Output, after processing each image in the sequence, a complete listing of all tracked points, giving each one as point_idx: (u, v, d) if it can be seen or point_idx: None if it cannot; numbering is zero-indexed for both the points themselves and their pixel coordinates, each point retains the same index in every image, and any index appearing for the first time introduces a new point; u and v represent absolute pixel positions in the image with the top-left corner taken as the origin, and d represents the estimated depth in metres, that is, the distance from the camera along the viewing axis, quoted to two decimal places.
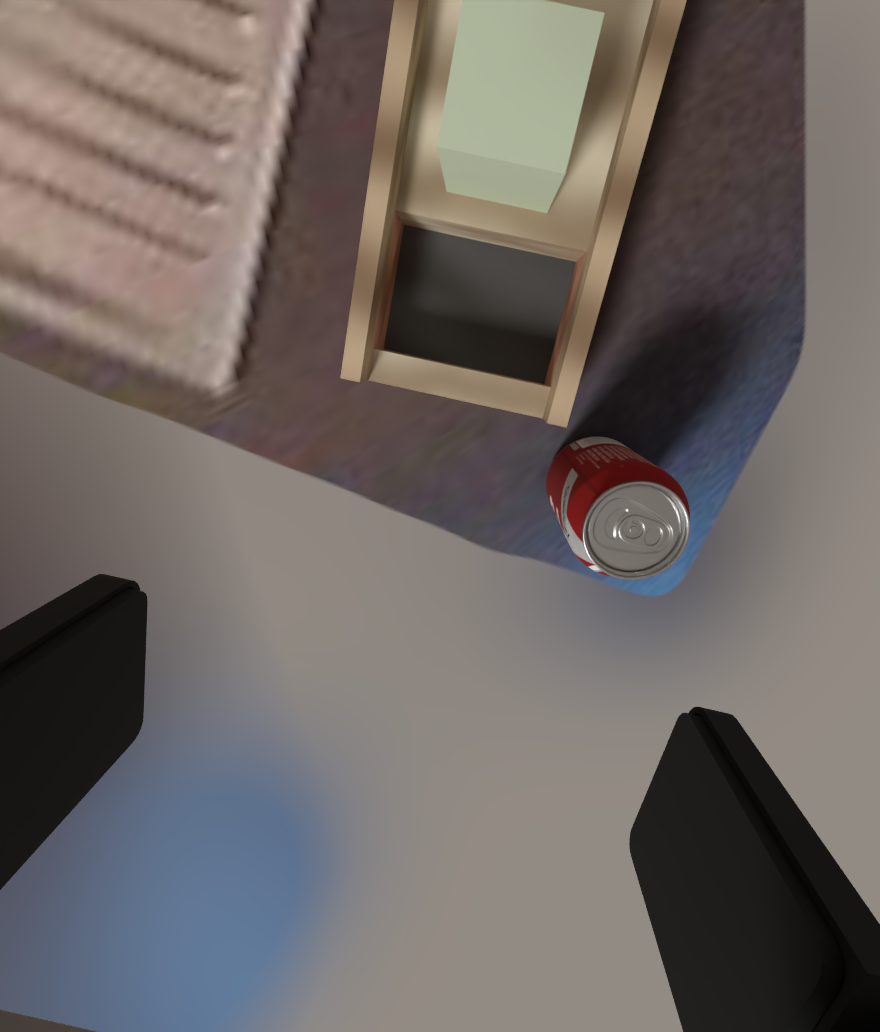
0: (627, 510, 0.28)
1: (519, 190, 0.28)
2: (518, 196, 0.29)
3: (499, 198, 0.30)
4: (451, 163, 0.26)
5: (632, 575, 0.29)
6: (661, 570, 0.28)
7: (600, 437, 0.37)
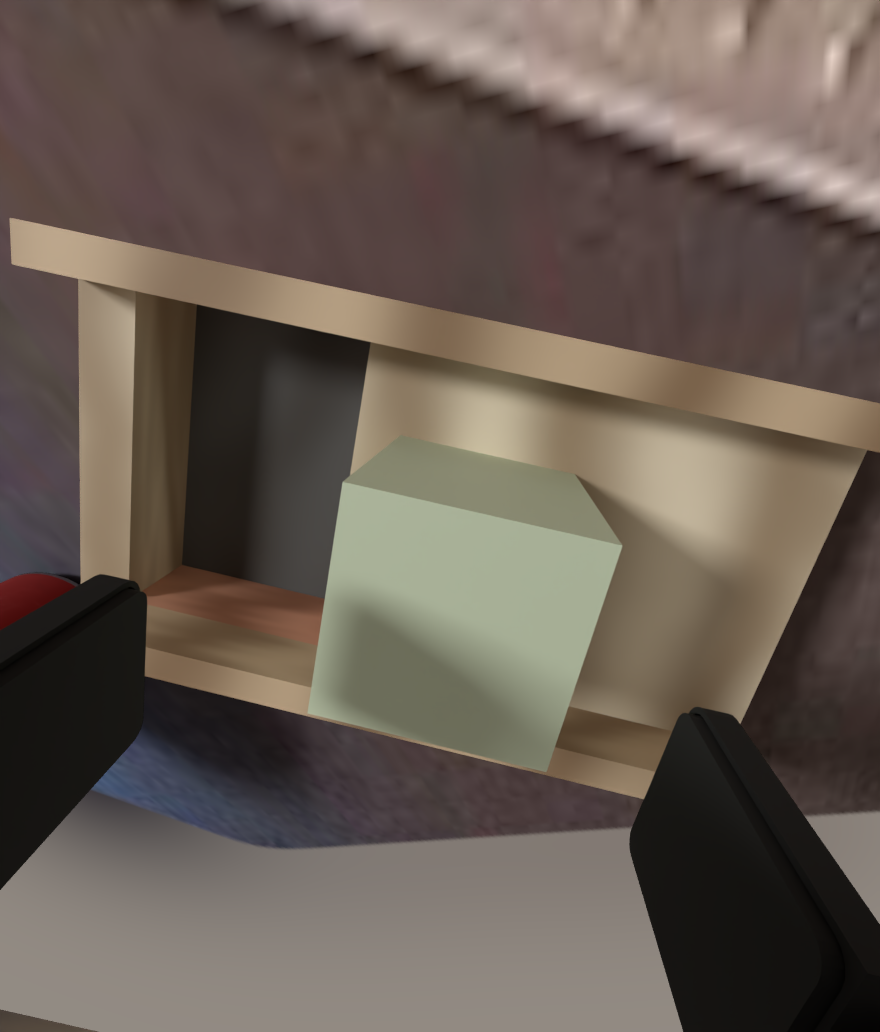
0: None
1: None
2: None
3: None
4: None
5: None
6: None
7: None
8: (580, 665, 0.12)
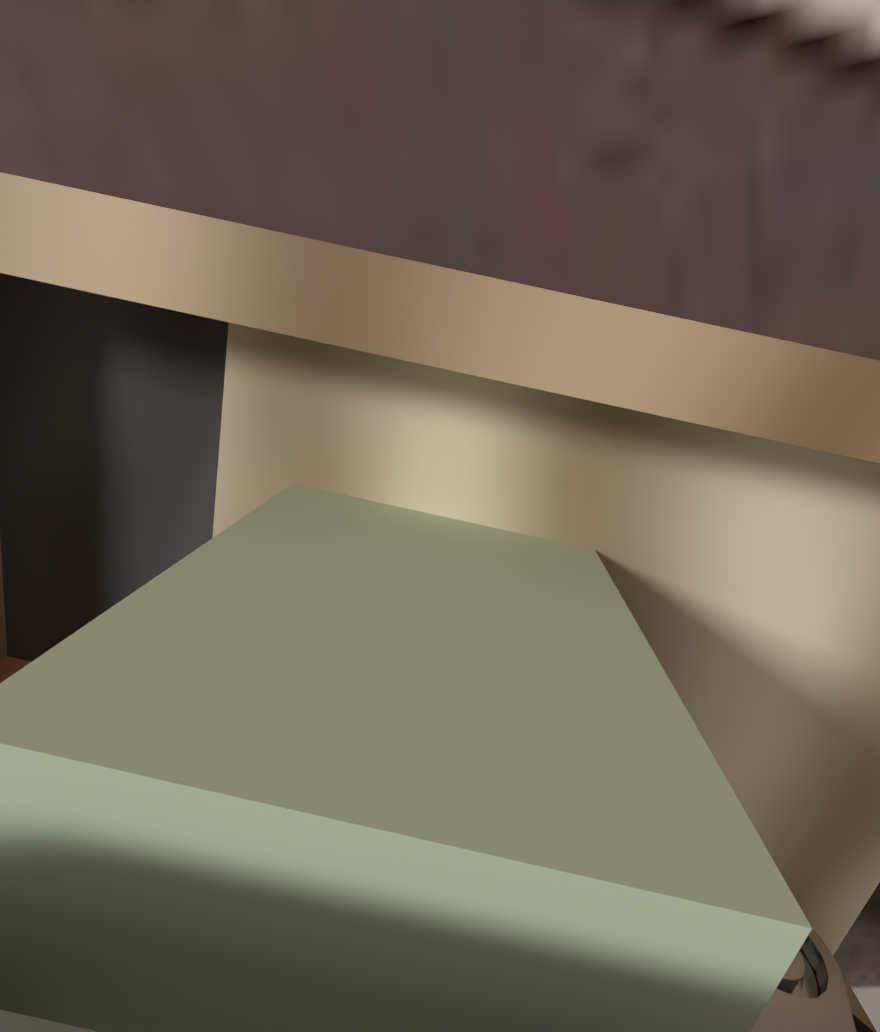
0: None
1: None
2: None
3: None
4: None
5: None
6: None
7: None
8: None
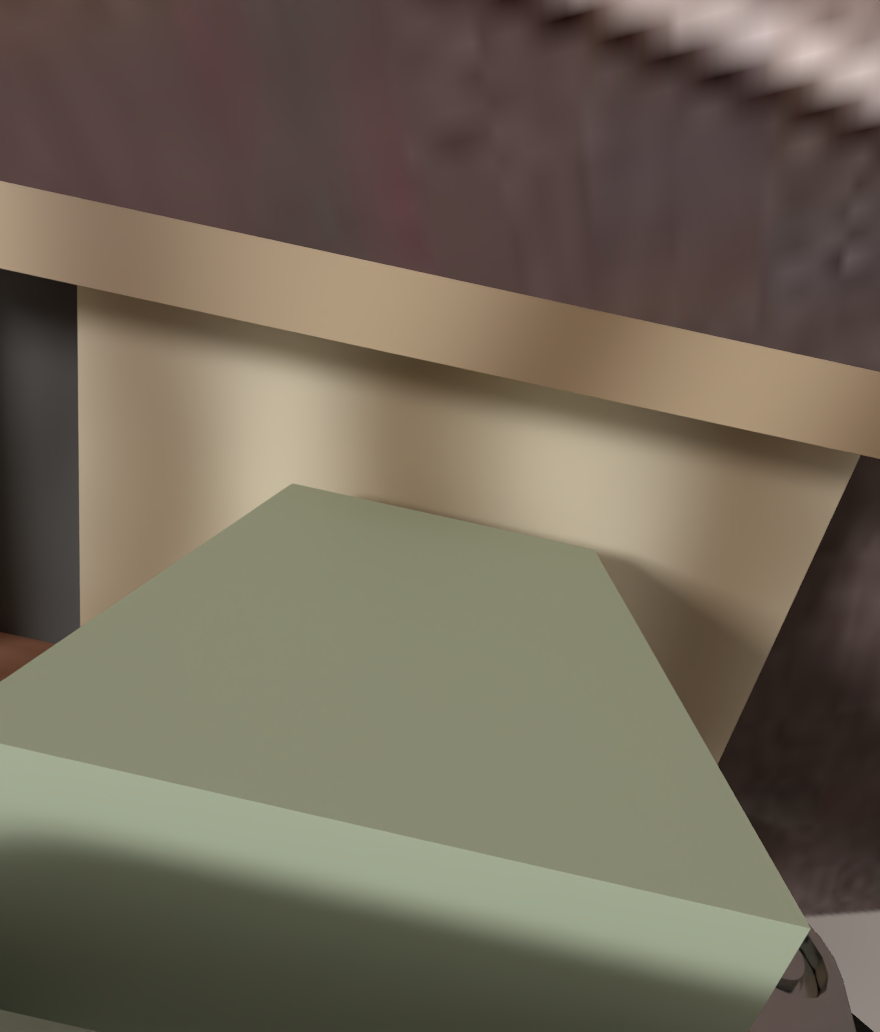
0: None
1: None
2: None
3: None
4: None
5: None
6: None
7: None
8: None
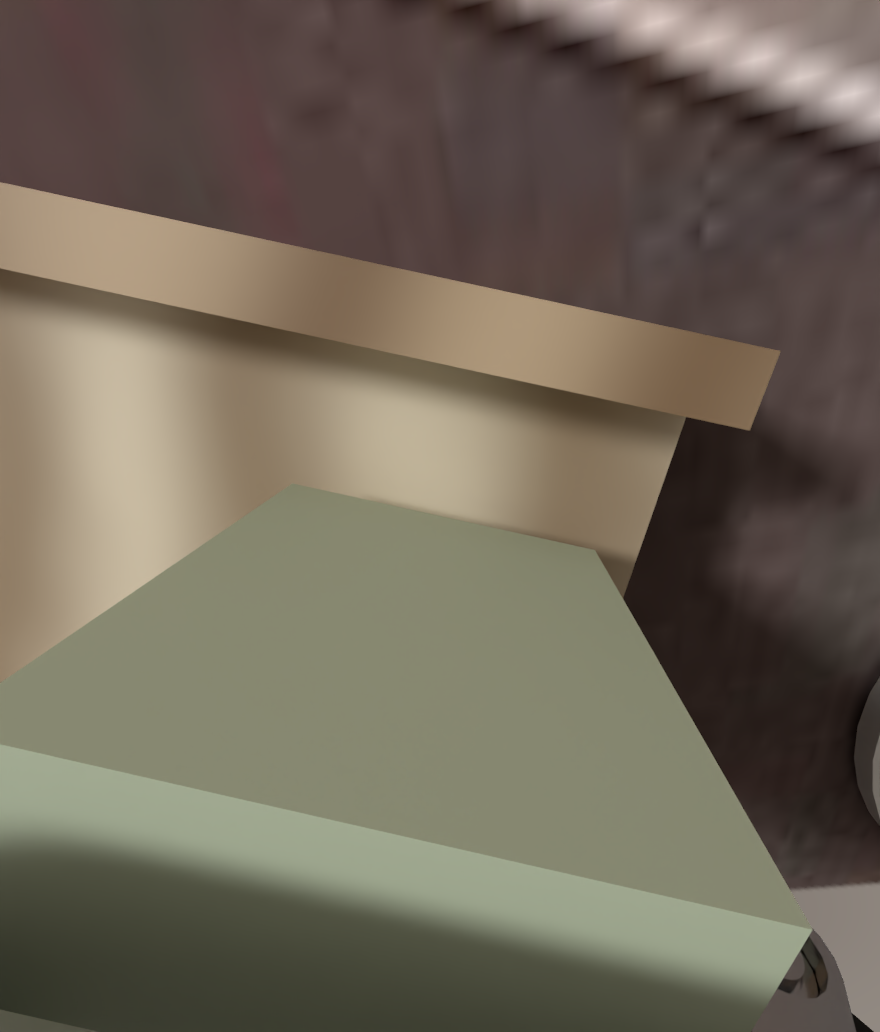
0: None
1: None
2: None
3: None
4: None
5: None
6: None
7: None
8: None
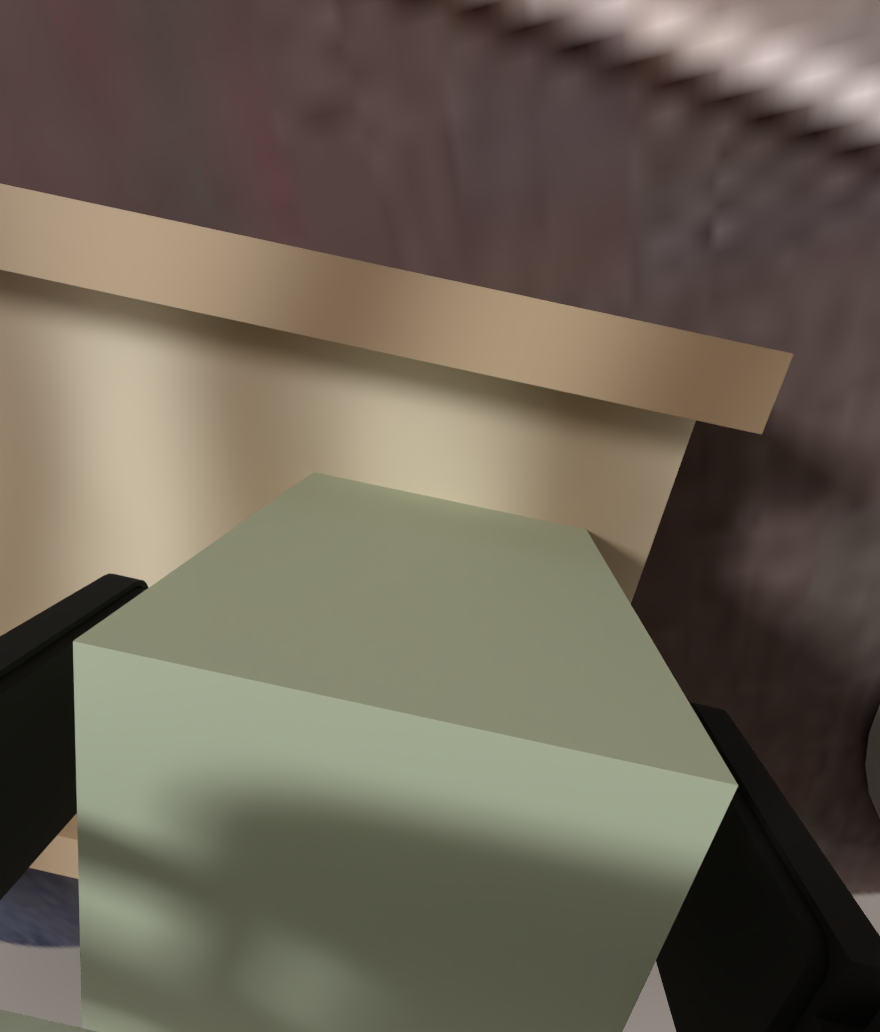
0: None
1: None
2: None
3: None
4: None
5: None
6: None
7: None
8: (631, 1003, 0.05)
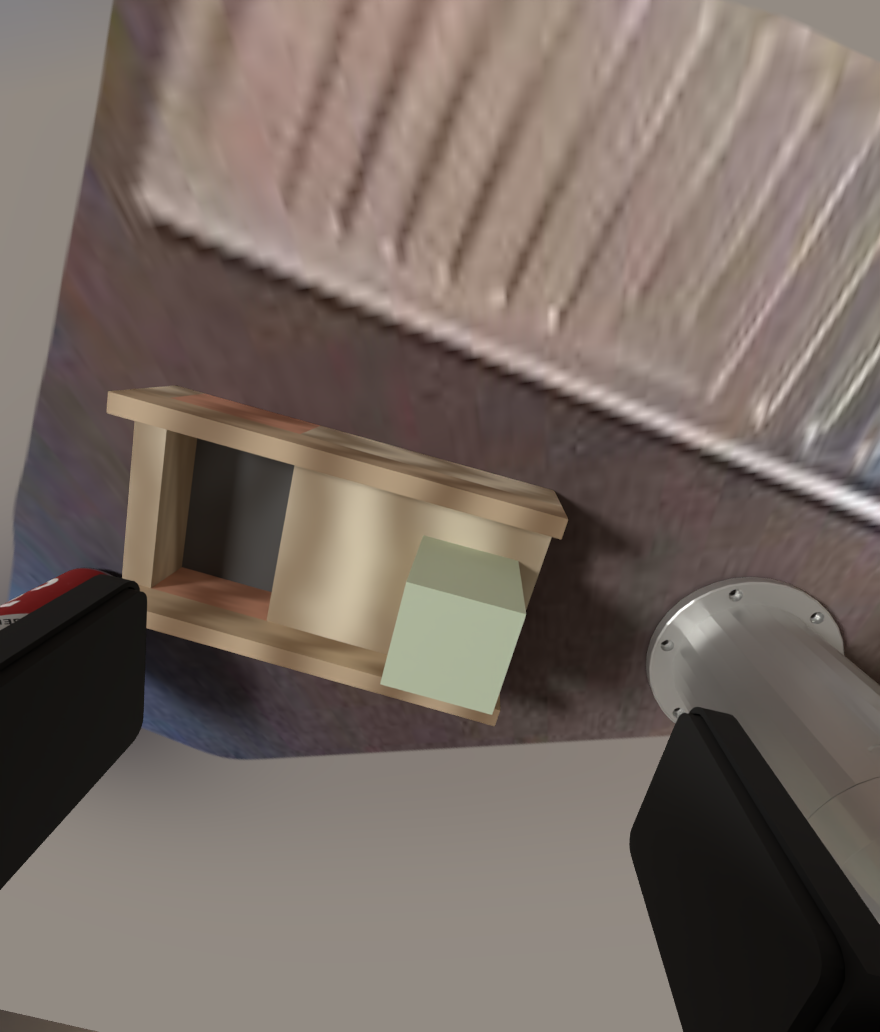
0: None
1: None
2: None
3: None
4: None
5: None
6: None
7: None
8: (508, 665, 0.26)
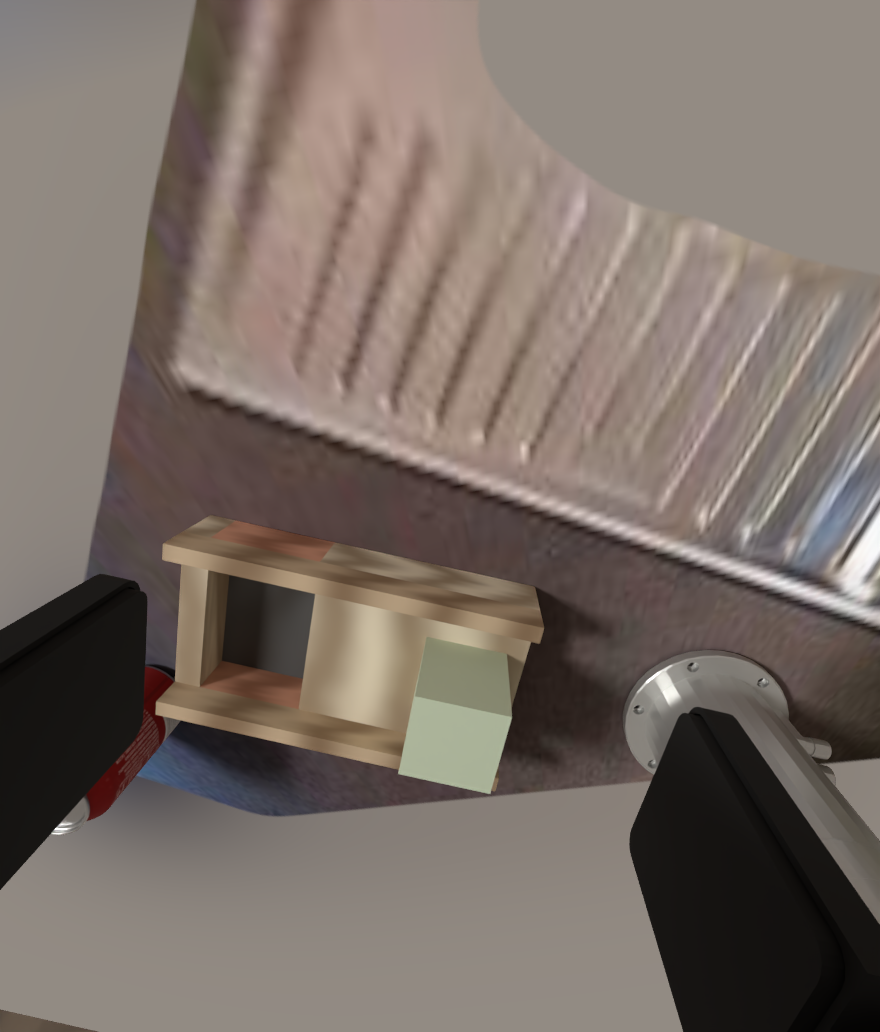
0: None
1: None
2: None
3: (417, 679, 0.38)
4: None
5: None
6: None
7: None
8: (500, 755, 0.33)
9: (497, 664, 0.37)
